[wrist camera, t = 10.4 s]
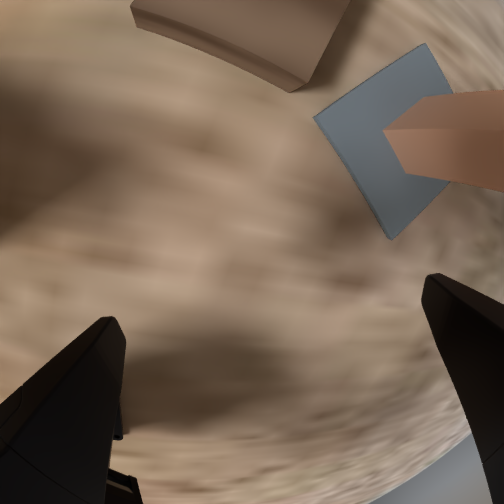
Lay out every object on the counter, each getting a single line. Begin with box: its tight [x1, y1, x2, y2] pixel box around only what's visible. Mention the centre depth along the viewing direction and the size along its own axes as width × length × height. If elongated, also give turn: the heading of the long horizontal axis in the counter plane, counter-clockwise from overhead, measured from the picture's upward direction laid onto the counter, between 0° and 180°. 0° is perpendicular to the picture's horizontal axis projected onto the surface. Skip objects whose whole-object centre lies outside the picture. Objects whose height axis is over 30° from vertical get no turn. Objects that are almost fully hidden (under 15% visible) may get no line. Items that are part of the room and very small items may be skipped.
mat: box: [313, 43, 453, 240], centre depth 19 cm, size 12×10×1 cm
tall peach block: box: [382, 90, 504, 192], centre depth 14 cm, size 5×4×10 cm
